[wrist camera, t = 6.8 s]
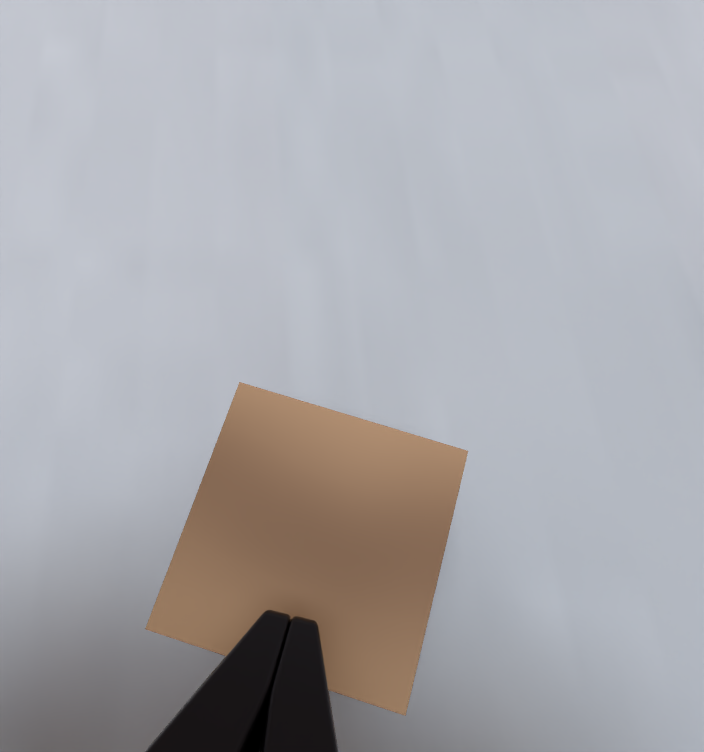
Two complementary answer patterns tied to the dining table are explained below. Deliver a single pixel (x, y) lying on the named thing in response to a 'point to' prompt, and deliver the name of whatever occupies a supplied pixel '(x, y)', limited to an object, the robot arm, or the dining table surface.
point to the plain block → (316, 540)
